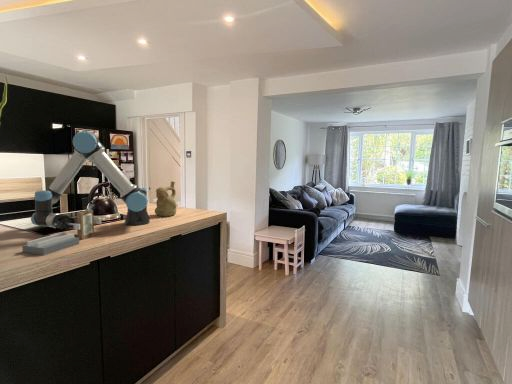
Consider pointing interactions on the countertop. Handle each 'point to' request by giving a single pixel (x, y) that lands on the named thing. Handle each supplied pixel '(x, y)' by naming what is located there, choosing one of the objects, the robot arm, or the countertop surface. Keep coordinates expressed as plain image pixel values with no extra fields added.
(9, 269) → the countertop surface
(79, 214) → the walnut photo frame
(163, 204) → the ceramic vessel
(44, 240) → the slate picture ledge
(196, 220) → the countertop surface
